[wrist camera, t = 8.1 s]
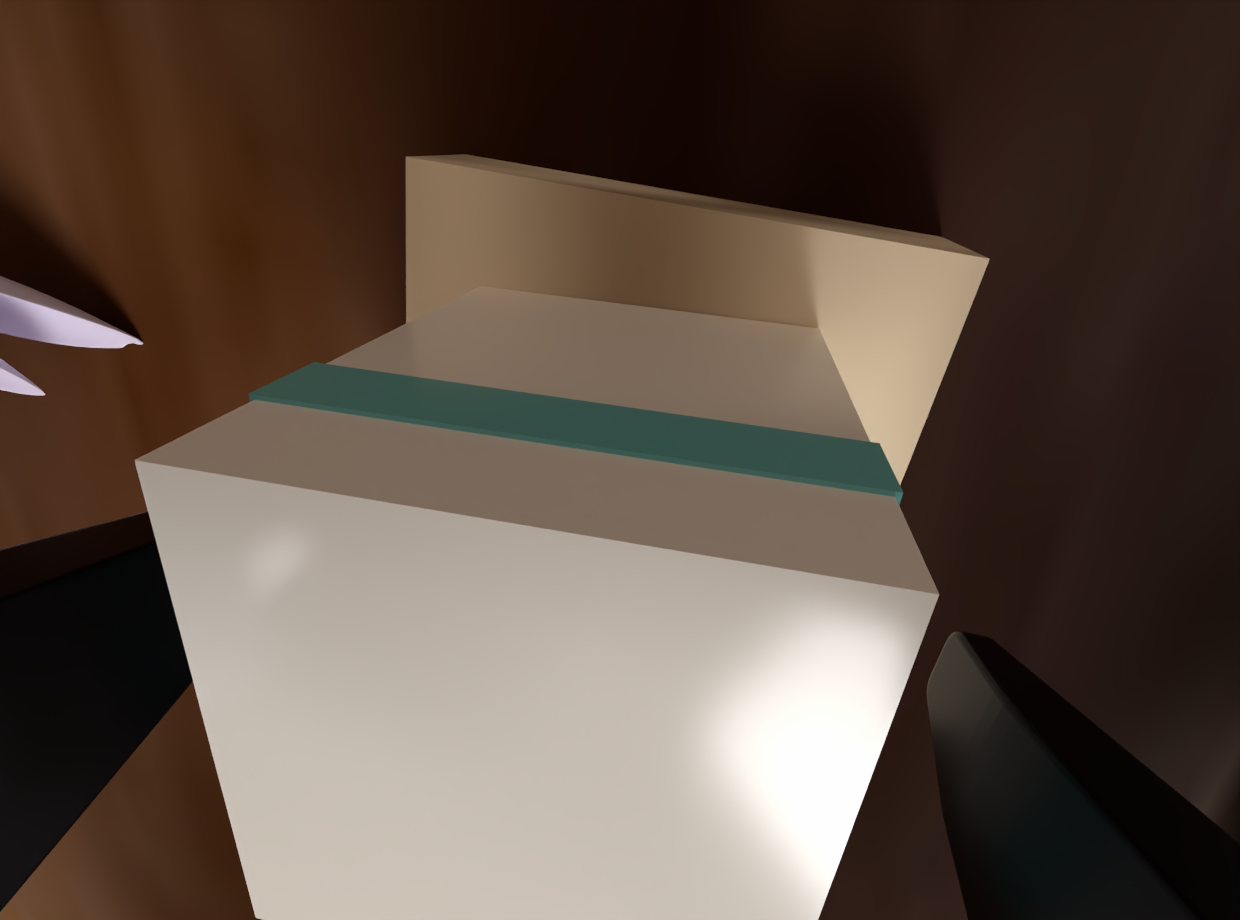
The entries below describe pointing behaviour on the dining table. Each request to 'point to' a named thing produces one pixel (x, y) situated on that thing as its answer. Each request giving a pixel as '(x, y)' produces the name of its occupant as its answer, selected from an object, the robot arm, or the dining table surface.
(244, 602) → the teal-striped cream cube
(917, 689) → the dining table surface
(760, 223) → the block
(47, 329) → the water lily
